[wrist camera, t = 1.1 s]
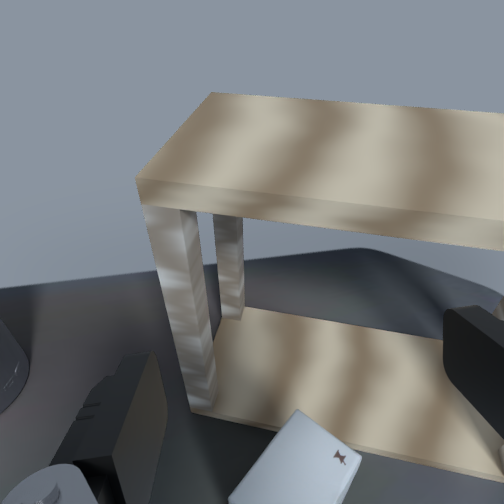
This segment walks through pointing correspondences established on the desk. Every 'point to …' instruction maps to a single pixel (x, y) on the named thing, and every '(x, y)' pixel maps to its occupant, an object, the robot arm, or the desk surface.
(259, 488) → the skincare box
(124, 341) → the desk surface
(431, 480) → the desk surface
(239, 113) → the oak counter shelf
